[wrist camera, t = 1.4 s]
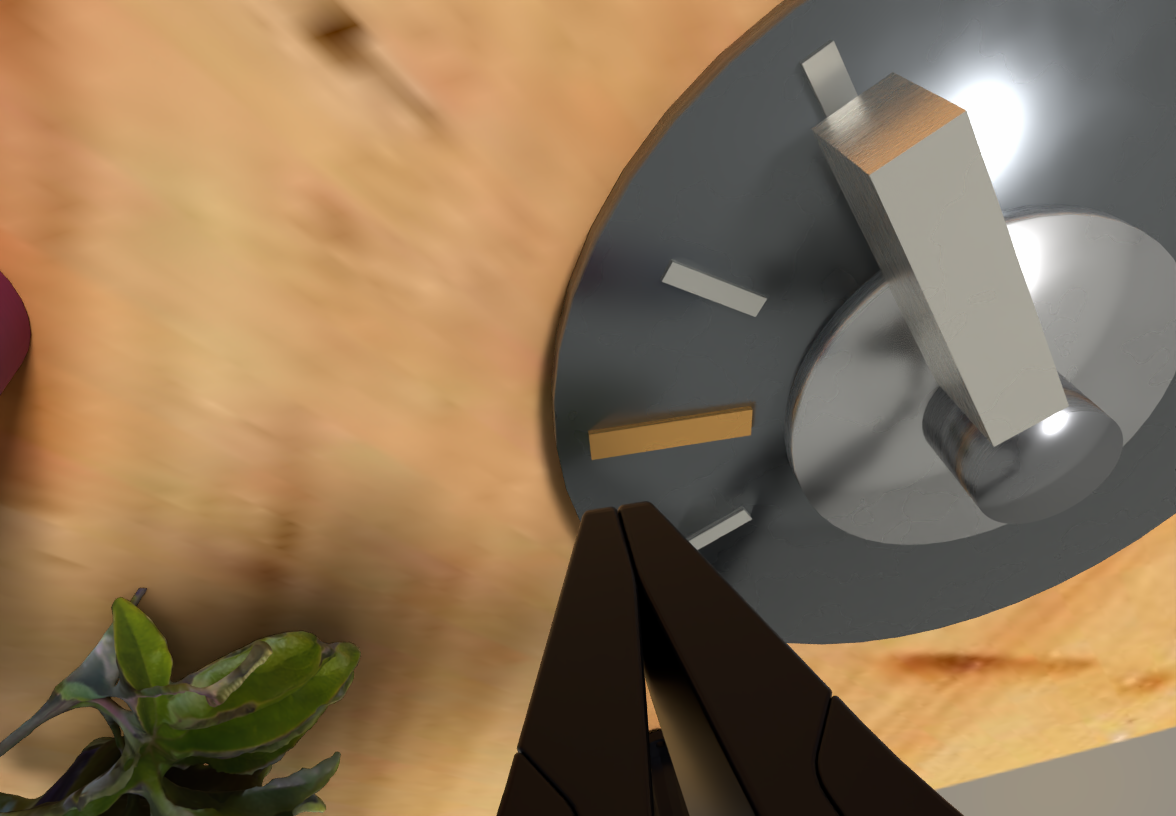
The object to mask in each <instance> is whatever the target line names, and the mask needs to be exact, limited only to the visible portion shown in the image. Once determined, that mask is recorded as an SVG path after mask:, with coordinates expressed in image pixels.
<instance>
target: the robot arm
mask: <svg viewBox="0 0 1176 816" xmlns="http://www.w3.org/2000/svg"><path fill="white" fill-rule="evenodd" d="M645 679H646V682H647V686H648V689H649V692H650V696H651V699H652V702H653V705H654V708H655V711H656V714H657V717H658V720H659V723H660V726H661V730H660V731H656V732H653V733H651V734H649V729H648V715H647V701H646V687H645ZM831 697H832V691H831V689H830V688H829V687H828V686H827V685H826V684H825V683H824V682H823V681H822V680H821V679H820V678H819V677H818V676H817V675H816V674H815V673H814V672H813V670H812V669H811V668H810V667H809V666H808V665H807V664H806V663H805V662H804V661H803V660H802V659H801V658H800V657H799V656H798V655H797V654H796V653H795V652H794V651H793V650H792V649H791V647H790V646H789V645H788V644H787V643H786V642H785V641H784V640H783V639H782V638H781V637H780V636H779V635H778V634H777V633H776V632H775V631H774V630H773V629H772V628H771V627H770V626H769V625H768V623H767V622H766V621H765V620H764V619H763V618H762V617H761V616H760V615H759V614H758V613H757V612H756V611H755V610H754V609H753V608H752V607H751V606H750V605H749V604H748V603H747V602H746V600H745V599H744V598H743V597H742V596H741V595H740V594H739V593H738V592H737V591H736V590H735V589H734V588H733V587H732V586H731V585H730V584H729V583H728V582H727V581H726V580H725V579H724V578H723V576H722V575H721V574H720V573H719V572H718V571H717V570H716V569H715V568H714V567H713V566H712V565H711V564H710V563H709V562H708V561H707V560H706V559H705V558H704V557H703V556H702V555H701V553H700V552H699V551H698V550H697V549H696V548H695V547H694V546H693V545H692V544H691V543H690V542H689V541H688V540H687V539H686V538H685V537H684V536H683V535H682V534H681V533H680V532H679V531H678V529H677V528H676V527H675V526H674V525H673V524H672V523H671V522H670V521H669V520H668V519H667V518H666V517H665V516H664V515H663V514H662V513H661V512H660V511H659V510H658V509H657V508H656V506H654V505H653V504H652V503H651V502H648V501H642V502H636V503H630V504H623V505H621V506H620V507H619V508H618V511H617V509H616V508H615V507H605V508H599V509H593V510H587V511H586V512H585V513H584V514H583V516H582V519H581V523H580V526H579V530H578V533H577V537H576V540H575V544H574V547H573V551H572V554H571V558H570V562H569V565H568V569H567V572H566V576H565V579H564V583H563V586H562V590H561V593H560V597H559V601H558V604H557V608H556V611H555V615H554V618H553V622H552V625H551V629H550V632H549V636H548V640H547V643H546V647H545V650H544V654H543V657H542V661H541V664H540V668H539V671H538V675H537V679H536V682H535V686H534V689H533V693H532V696H531V700H530V703H529V707H528V710H527V714H526V718H525V721H524V725H523V728H522V732H521V735H520V739H519V742H518V746H517V750H518V753H516V754H515V755H514V759H513V762H512V766H511V769H510V773H509V776H508V780H507V783H506V787H505V790H504V793H503V796H502V799H501V803H500V806H499V809H498V812H497V815H496V816H964V815H962V814H961V813H960V812H959V811H958V810H957V809H955V808H954V807H953V806H952V805H951V804H950V803H948V802H947V801H946V800H945V799H944V798H943V797H942V796H940V795H939V794H938V793H937V792H936V791H935V790H934V789H933V788H931V787H930V786H929V785H928V784H927V783H926V782H925V781H924V780H922V779H921V778H920V777H919V776H918V775H917V774H916V773H915V772H914V771H912V770H911V769H910V768H909V767H908V766H907V765H906V764H905V763H903V762H902V761H901V760H900V759H899V758H898V757H897V756H896V755H895V754H894V753H893V752H892V751H891V750H890V749H889V748H888V747H887V746H886V745H885V744H884V743H883V742H882V741H881V740H880V739H879V738H878V737H877V736H876V735H875V734H874V733H873V732H872V731H871V730H870V729H869V728H868V727H867V726H866V725H865V724H864V723H863V722H862V721H861V720H860V719H859V718H858V717H857V716H856V715H855V714H854V713H853V712H852V711H851V710H850V709H849V708H848V707H847V706H846V705H845V703H844V702H843V701H842V700H841V699H840V698H839V697H838V696H833V697H832V698H831Z"/></svg>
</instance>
